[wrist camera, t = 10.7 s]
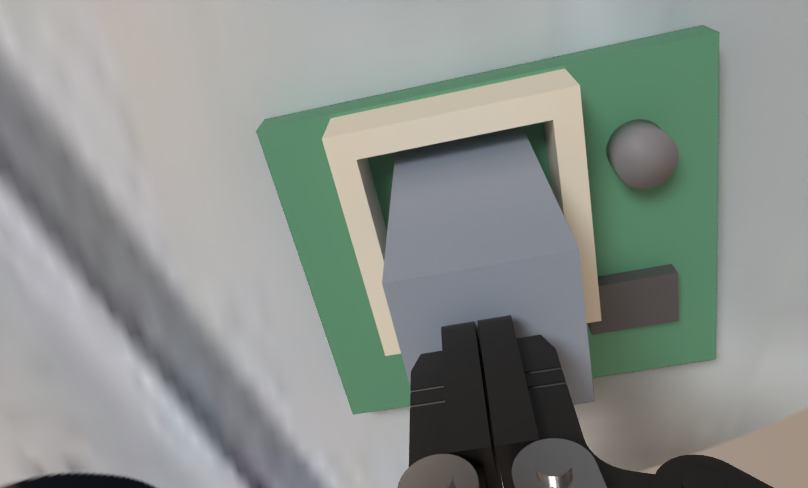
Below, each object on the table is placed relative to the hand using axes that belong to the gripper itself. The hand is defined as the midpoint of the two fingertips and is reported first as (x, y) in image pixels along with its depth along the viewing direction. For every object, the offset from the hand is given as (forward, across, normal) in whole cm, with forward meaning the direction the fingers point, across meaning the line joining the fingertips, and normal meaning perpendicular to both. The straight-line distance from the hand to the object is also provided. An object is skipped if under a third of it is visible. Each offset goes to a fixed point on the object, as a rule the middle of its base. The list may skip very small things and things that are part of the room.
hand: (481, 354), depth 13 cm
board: (+9, -1, +2) cm, 10 cm away
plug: (+8, 0, 0) cm, 8 cm away
